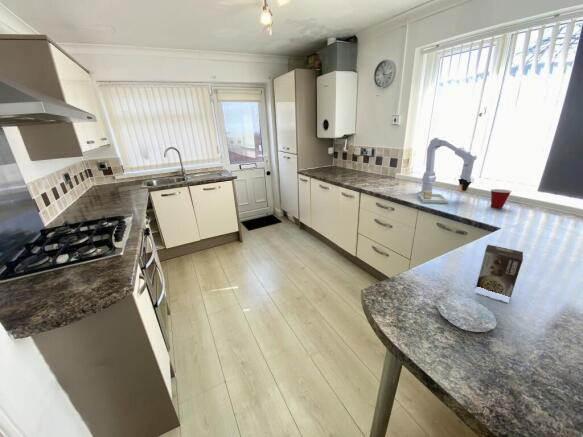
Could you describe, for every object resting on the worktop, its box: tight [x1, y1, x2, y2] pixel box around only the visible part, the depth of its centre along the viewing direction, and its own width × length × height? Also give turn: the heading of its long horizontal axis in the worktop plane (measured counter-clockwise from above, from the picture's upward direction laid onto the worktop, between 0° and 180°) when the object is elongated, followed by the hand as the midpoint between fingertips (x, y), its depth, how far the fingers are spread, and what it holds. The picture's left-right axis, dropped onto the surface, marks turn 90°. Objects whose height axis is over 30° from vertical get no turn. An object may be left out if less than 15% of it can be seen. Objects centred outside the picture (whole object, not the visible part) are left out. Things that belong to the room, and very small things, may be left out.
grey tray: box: [417, 192, 449, 205], centre depth 183 cm, size 18×16×2 cm
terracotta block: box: [457, 184, 470, 194], centre depth 175 cm, size 4×4×5 cm
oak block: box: [424, 191, 433, 199], centre depth 185 cm, size 4×4×5 cm
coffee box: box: [475, 244, 524, 298], centre depth 79 cm, size 9×6×16 cm
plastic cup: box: [490, 188, 512, 210], centre depth 161 cm, size 11×11×12 cm
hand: (462, 189), depth 176 cm, fingers closed on terracotta block, 4 cm apart
